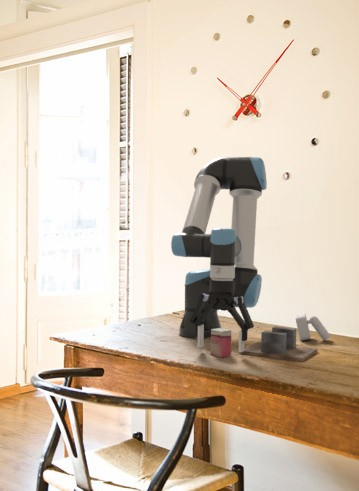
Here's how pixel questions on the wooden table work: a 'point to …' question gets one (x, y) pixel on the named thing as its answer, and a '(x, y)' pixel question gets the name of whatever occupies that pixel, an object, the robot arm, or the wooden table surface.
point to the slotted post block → (279, 345)
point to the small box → (220, 342)
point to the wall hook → (304, 329)
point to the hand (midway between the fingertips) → (220, 349)
